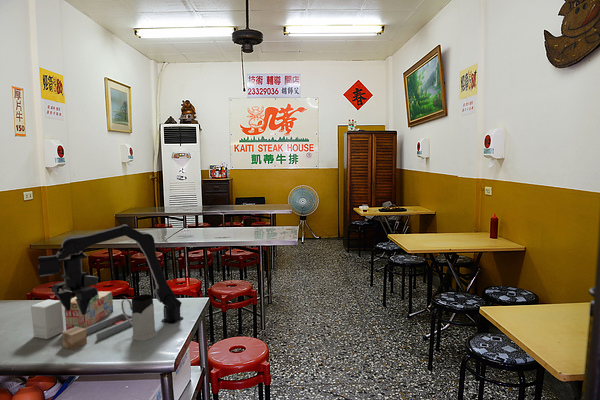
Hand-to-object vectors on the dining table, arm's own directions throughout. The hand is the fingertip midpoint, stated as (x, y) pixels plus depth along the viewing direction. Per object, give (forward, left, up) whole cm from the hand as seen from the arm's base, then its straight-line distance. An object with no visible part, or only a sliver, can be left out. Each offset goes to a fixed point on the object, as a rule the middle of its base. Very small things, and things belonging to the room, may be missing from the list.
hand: (76, 312), depth 138 cm
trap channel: (0, -13, -12) cm, 18 cm away
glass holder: (-14, -15, -12) cm, 24 cm away
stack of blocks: (+15, -15, -12) cm, 25 cm away
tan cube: (0, +1, -12) cm, 12 cm away
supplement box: (+18, 0, -12) cm, 22 cm away
